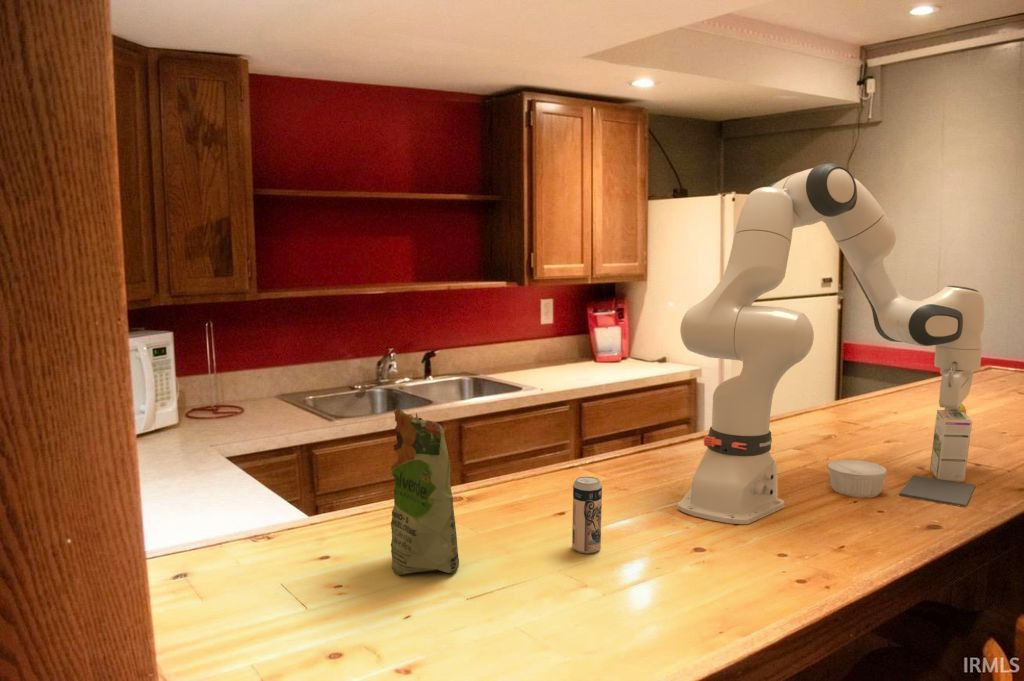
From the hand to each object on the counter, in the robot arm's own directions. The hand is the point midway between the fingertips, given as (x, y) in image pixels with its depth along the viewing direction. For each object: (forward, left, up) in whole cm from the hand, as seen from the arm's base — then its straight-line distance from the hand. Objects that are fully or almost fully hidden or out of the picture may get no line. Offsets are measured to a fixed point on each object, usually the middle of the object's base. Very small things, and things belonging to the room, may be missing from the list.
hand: (952, 421), depth 177 cm
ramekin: (-25, +14, -12) cm, 31 cm away
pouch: (-108, +60, -12) cm, 124 cm away
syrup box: (-3, 0, -12) cm, 12 cm away
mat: (-15, 0, -12) cm, 19 cm away
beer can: (-86, +43, -12) cm, 97 cm away
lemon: (+51, +5, -12) cm, 53 cm away
